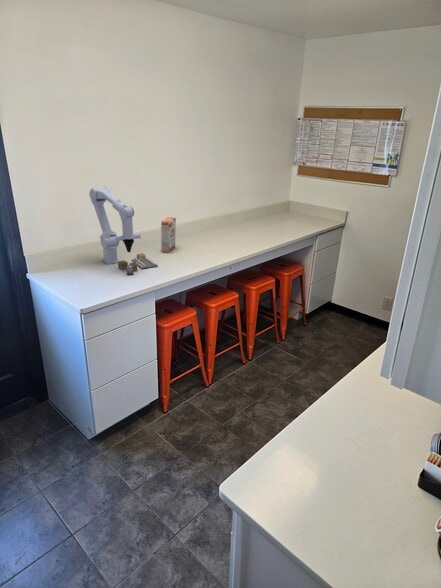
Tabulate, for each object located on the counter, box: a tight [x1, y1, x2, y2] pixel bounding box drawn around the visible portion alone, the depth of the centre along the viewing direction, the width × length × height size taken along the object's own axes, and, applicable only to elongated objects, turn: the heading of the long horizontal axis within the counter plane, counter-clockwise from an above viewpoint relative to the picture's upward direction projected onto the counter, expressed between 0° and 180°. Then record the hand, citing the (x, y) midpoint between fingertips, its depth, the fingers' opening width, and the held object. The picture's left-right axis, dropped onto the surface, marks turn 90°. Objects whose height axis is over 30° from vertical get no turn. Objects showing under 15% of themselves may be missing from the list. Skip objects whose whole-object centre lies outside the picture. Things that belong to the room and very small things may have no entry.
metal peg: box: [126, 264, 134, 276], centre depth 224 cm, size 4×4×5 cm
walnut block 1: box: [117, 259, 129, 271], centre depth 233 cm, size 4×4×4 cm
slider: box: [136, 252, 146, 261], centre depth 244 cm, size 4×4×4 cm
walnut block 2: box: [128, 262, 138, 273], centre depth 230 cm, size 4×4×4 cm
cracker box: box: [160, 216, 177, 254], centre depth 265 cm, size 14×6×21 cm, turn 168°
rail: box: [131, 256, 159, 270], centre depth 241 cm, size 16×10×2 cm, turn 34°
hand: (128, 251), depth 229 cm, fingers closed
